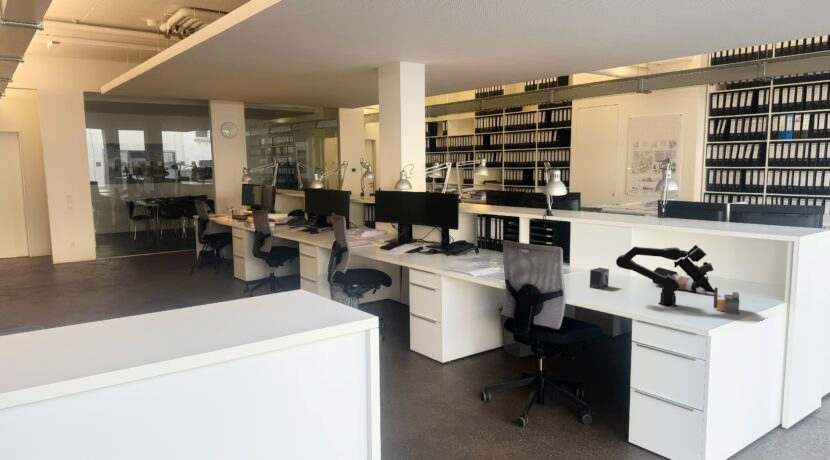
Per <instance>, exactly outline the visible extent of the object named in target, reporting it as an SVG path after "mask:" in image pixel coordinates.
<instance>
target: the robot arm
mask: <svg viewBox="0 0 830 460" xmlns="http://www.w3.org/2000/svg"><path fill="white" fill-rule="evenodd" d="M636 256H647V257H648V256H649V257H661V258H664V259H668V260H671V261H673V264H674V266H673V267H674V268H677V267H679V268H681V270H682V271H684V273H685V274H686V276H689V278H690V279H693V281H694V282H695V283H694V285H695V287H696V288H699V287H700V288H703V289H705V290H708V291H710V292H712V294H714V293H713V292H714V290H713V289H714V288H713V287H712V285H711V284H710V282H709V276H707V275H708V272H709V273H710V272H713V271H714V267H713V265H712V263H711V262H709V263H708V262H707V261H704V262H703V263H702V265H700V266H698V265H696V264H694V263H698V262H699V261H701V260H702V259H703V258H704V257H706V256H707V253H706V252H705V251H704V250H703V249H702V248H701V247H699V246H698V245H697V244H695V245H693V247H692V248H690V249H689V250H688V251H687V250H682V249H680V248H679V247H677V246H675V247H664V248H655V247H641V246H633V247H632V248H631V249H629V250H628V251H627V252H625V253H624V254H621V255H619V256H618V257H617V258H616V260H615V264H616V266H617V268H621V269H624V270H627V271H628V270H629V271H632V272H635V273H637V274H639V275H641V276H644V277H646V278H648V279H649V280H654V281H656V282H658V283H660V284H661V285H662V286H661V285H660V286H661V292H660V298H659V299H660V300H659V302H657V303H658V305H661V306H663V307H677V306H678V304H677V303H676V302H677V296H676V291H678V290H679V289H680V288H679V281H678V280H677V279H676V277H672V276H671V275H669V274H668V275H667V276H663V275H660V274H658V273H656V272H654V271H655V270H651V269H649V268H648V267H645V266H642V265H641V264H638V263H636V261H634V260H633V258H634V257H636ZM710 292H709V293H710Z"/></svg>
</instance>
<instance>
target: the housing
mask: <svg viewBox="0 0 830 460" xmlns="http://www.w3.org/2000/svg"><path fill="white" fill-rule="evenodd" d="M739 293H740V292H738V291H732V294H724V299H723V300H725V311H724V314H730V315H731V314H732V315H739V314H740V313H739V311H740V294H739Z"/></svg>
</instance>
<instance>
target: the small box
mask: <svg viewBox="0 0 830 460" xmlns="http://www.w3.org/2000/svg"><path fill="white" fill-rule="evenodd" d="M609 273H610V269H609V268H606V267H605V268H604V267H596V268H591V269H590V271H589V274H590V275H589V288H592V289H598V290H600V289H603V288H607V287H609V277H610V275H609Z"/></svg>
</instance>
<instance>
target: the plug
mask: <svg viewBox="0 0 830 460" xmlns="http://www.w3.org/2000/svg"><path fill="white" fill-rule="evenodd" d="M713 289H714V293H713V309H716V311H724V312H725V300H724V299H719V298H718V290H719V288H718V287H715V288H713Z"/></svg>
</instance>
